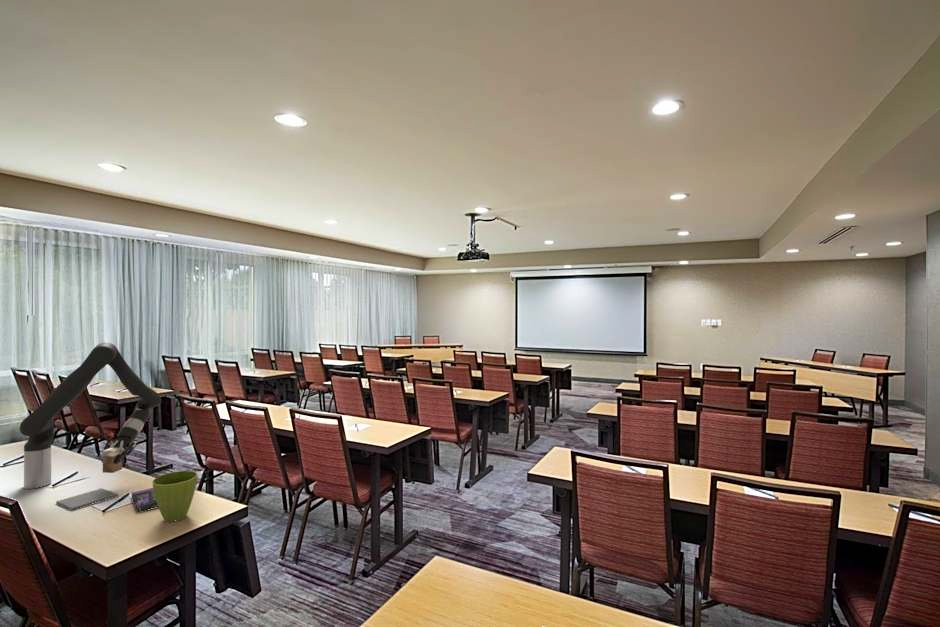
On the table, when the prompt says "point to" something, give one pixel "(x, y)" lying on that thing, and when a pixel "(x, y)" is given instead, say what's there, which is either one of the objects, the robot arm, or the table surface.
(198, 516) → the table surface
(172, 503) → the flower pot
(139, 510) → the box
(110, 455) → the block
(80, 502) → the mat
